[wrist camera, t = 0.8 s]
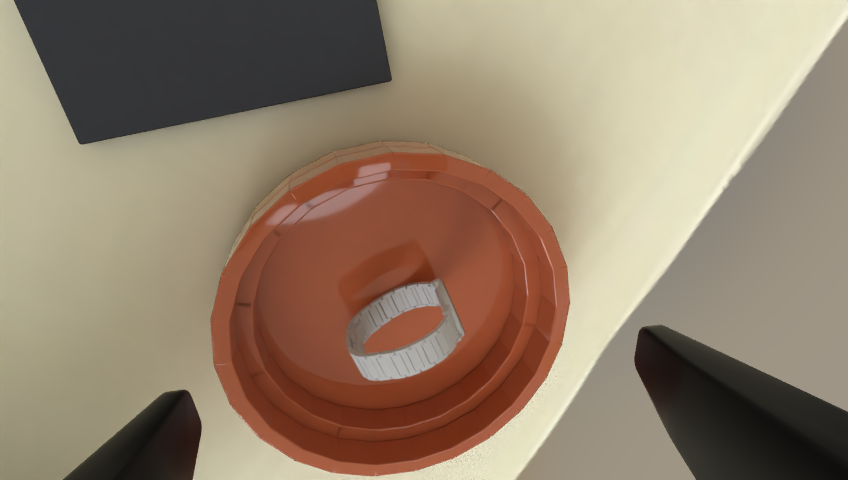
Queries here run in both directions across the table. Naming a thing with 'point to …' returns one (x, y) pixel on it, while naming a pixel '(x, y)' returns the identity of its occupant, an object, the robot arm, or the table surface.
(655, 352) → the robot arm
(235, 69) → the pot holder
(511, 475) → the table surface
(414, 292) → the wristwatch
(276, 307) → the dish
